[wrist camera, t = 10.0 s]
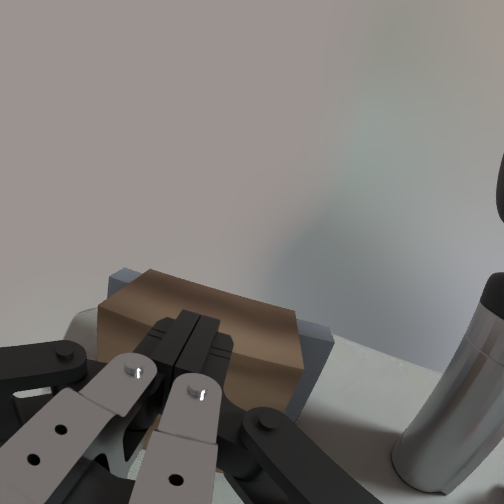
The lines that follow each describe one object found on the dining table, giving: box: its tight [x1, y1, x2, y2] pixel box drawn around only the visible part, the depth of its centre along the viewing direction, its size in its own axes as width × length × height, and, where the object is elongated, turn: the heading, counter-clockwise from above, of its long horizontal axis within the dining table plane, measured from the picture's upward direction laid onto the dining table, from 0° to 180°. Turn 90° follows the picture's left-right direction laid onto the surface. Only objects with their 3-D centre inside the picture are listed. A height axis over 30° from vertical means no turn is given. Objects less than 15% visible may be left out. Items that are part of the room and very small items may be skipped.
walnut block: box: [97, 269, 304, 474], centre depth 20 cm, size 8×12×12 cm, turn 86°
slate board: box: [107, 268, 335, 422], centre depth 25 cm, size 3×20×10 cm, turn 86°
